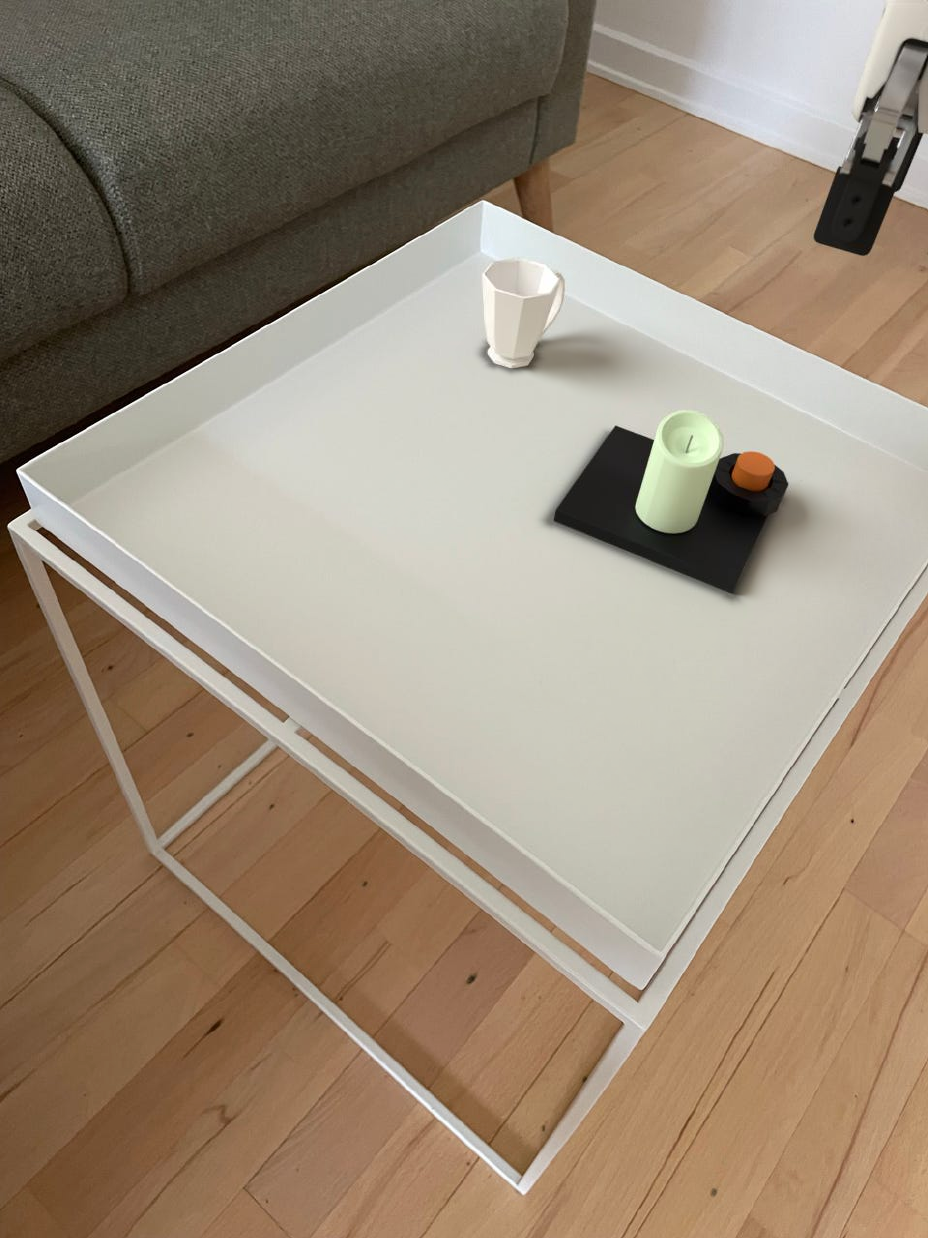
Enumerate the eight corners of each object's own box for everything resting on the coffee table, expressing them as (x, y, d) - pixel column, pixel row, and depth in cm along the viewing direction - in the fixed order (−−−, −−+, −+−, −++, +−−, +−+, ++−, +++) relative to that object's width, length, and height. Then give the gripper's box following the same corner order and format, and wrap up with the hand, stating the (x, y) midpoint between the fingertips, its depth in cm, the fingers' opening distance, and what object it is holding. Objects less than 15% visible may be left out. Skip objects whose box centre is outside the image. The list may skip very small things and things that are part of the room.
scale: (783, 497, 83) (795, 469, 80) (737, 596, 74) (749, 568, 72) (614, 433, 86) (621, 405, 84) (553, 520, 78) (559, 492, 76)
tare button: (772, 476, 80) (779, 459, 79) (762, 496, 78) (769, 480, 77) (737, 463, 81) (743, 446, 80) (726, 483, 79) (732, 466, 78)
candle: (698, 538, 76) (728, 456, 70) (635, 529, 76) (659, 446, 70) (695, 496, 80) (724, 414, 74) (634, 488, 80) (658, 405, 74)
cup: (458, 351, 93) (465, 272, 87) (528, 316, 98) (539, 239, 92) (512, 385, 90) (524, 306, 84) (581, 347, 95) (597, 270, 89)
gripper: (1070, -98, 39) (895, 296, 52) (1092, -157, 50) (943, 180, 62) (882, -134, 41) (758, 254, 53) (942, -184, 52) (827, 149, 64)
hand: (857, 214), depth 58 cm, fingers open, 9 cm apart
